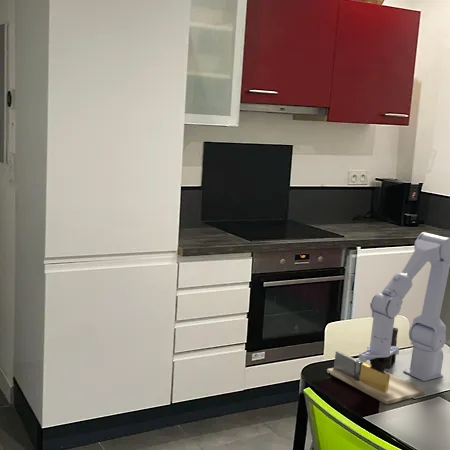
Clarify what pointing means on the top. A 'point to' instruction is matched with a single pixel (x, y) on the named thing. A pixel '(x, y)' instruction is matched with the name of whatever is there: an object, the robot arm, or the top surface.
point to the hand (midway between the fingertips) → (375, 381)
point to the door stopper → (393, 343)
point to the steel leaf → (347, 365)
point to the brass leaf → (374, 377)
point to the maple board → (395, 392)
